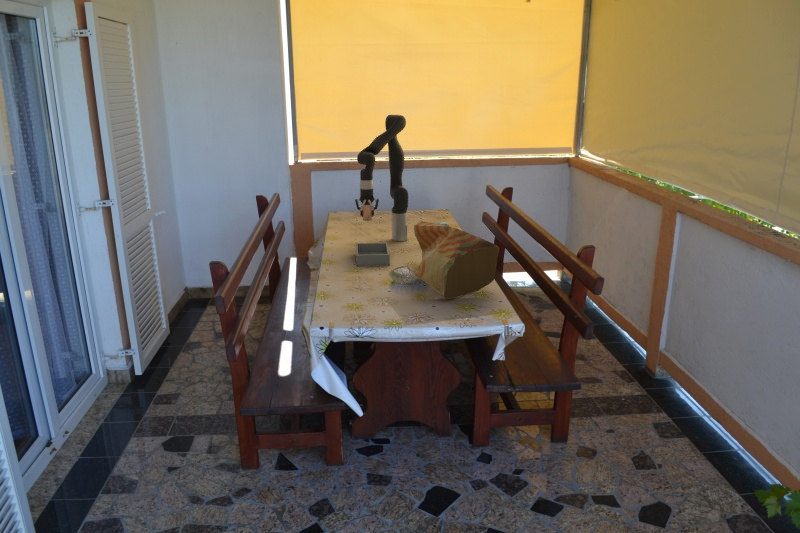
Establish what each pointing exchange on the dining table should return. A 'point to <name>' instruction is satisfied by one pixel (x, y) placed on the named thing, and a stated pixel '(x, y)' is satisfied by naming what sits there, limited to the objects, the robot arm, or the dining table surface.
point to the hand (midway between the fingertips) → (367, 216)
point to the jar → (367, 213)
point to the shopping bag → (453, 260)
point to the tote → (372, 254)
